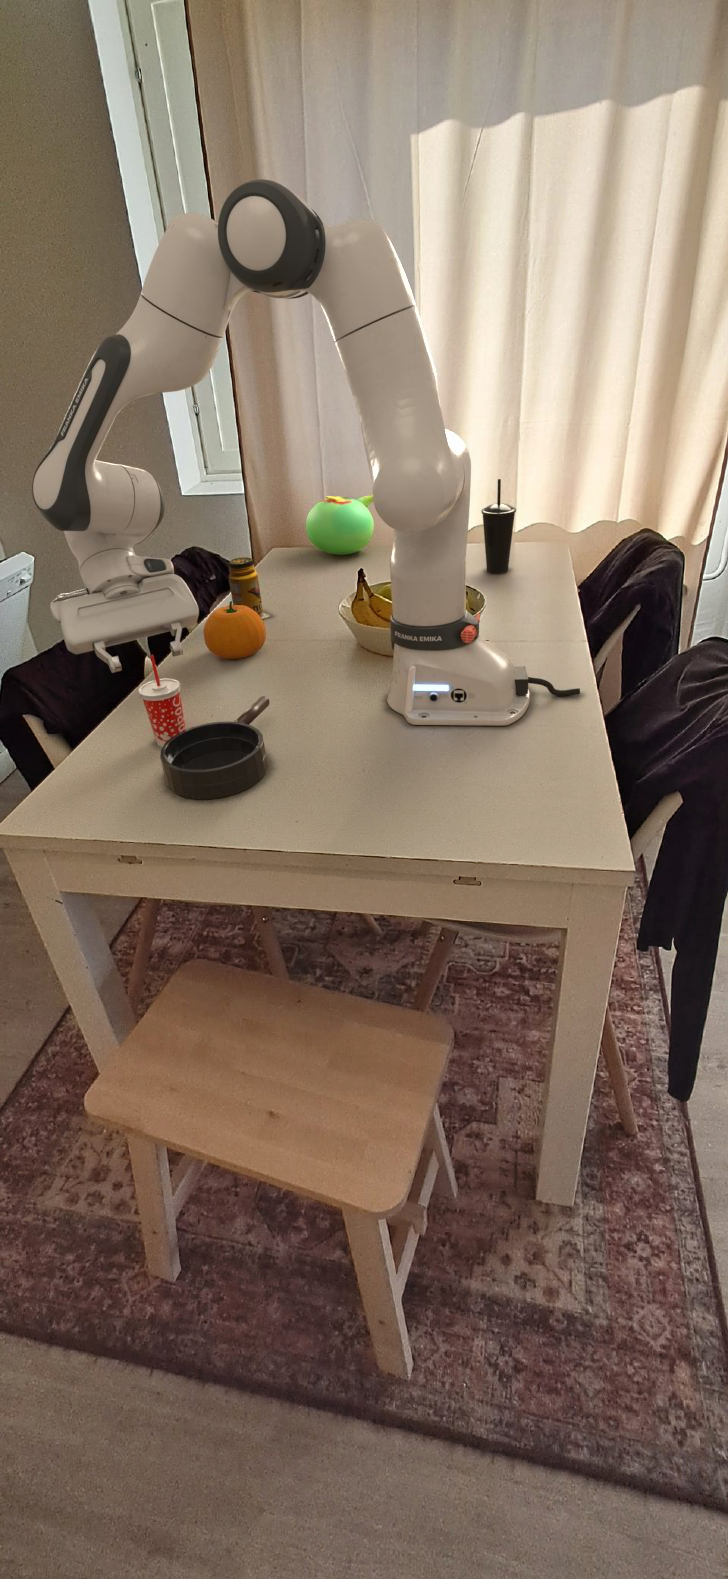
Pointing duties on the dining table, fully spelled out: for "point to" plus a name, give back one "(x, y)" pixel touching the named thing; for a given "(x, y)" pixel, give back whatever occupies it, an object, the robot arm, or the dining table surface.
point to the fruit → (234, 632)
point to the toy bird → (340, 524)
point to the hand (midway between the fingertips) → (148, 662)
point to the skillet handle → (251, 713)
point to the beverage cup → (163, 706)
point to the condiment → (245, 585)
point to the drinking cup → (498, 534)
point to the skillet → (214, 760)
